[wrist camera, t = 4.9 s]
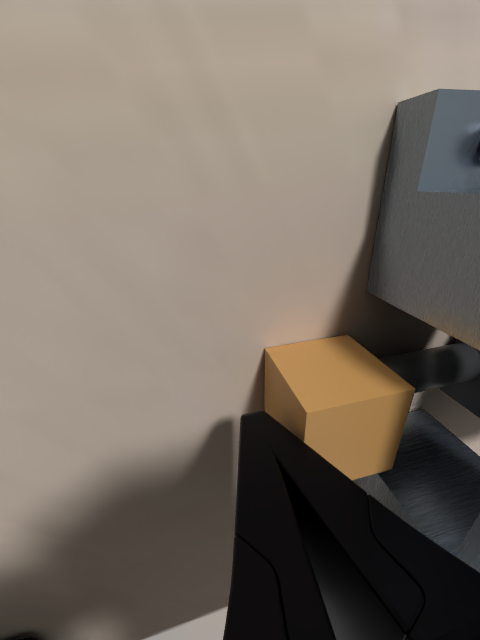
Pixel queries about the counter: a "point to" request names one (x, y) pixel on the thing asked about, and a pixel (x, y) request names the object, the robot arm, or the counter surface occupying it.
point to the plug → (361, 395)
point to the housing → (433, 302)
